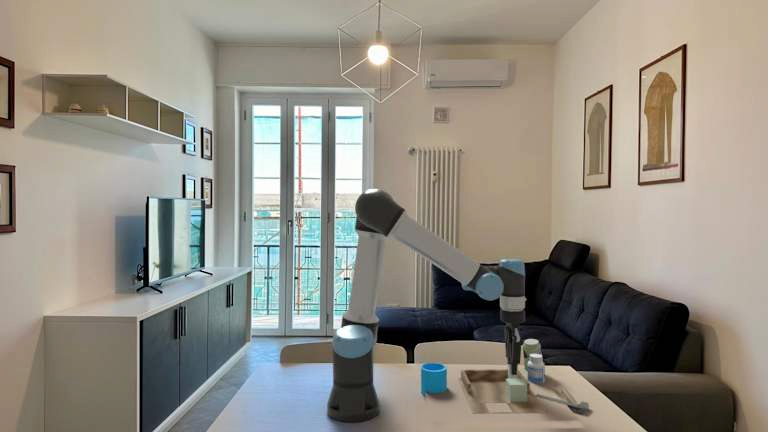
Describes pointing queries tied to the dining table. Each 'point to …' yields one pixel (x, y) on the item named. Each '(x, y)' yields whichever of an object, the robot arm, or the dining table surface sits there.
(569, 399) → the dowel
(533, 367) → the pill bottle
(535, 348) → the beverage can
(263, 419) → the dining table surface
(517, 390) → the block
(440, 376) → the mug
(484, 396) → the cubby deck
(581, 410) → the crook tool
